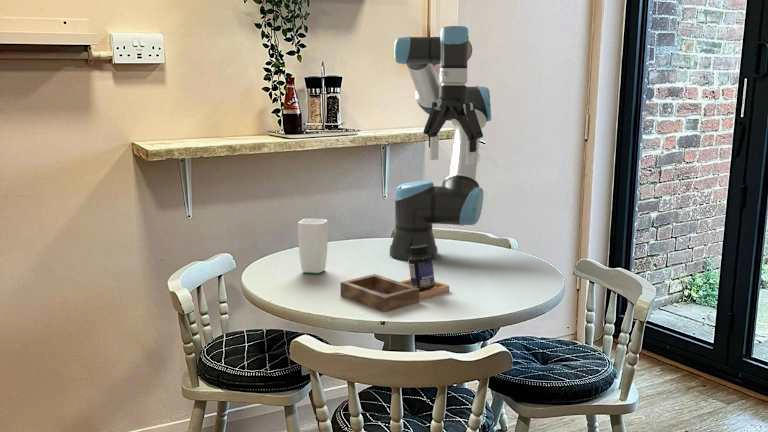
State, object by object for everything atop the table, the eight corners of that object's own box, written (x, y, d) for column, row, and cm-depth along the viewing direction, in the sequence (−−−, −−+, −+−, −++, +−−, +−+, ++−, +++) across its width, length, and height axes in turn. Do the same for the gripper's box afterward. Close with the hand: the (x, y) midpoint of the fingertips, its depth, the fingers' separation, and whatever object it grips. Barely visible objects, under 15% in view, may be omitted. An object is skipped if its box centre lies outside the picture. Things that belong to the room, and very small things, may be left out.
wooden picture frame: (340, 295, 173) (340, 282, 172) (374, 286, 180) (374, 274, 180) (384, 312, 160) (384, 297, 160) (419, 302, 168) (419, 288, 167)
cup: (297, 274, 192) (296, 223, 189) (306, 267, 199) (305, 218, 196) (321, 276, 190) (320, 224, 187) (329, 269, 197) (329, 219, 194)
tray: (389, 290, 177) (389, 284, 177) (419, 282, 185) (419, 276, 184) (419, 300, 169) (419, 294, 169) (449, 291, 176) (449, 285, 176)
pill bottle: (438, 285, 177) (433, 243, 176) (431, 290, 172) (426, 247, 171) (415, 286, 179) (411, 245, 179) (408, 291, 174) (403, 248, 173)
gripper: (411, 84, 192) (411, 158, 196) (479, 84, 174) (476, 166, 178) (430, 84, 197) (429, 157, 201) (497, 84, 179) (494, 164, 183)
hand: (451, 161), depth 190 cm, fingers open, 13 cm apart
